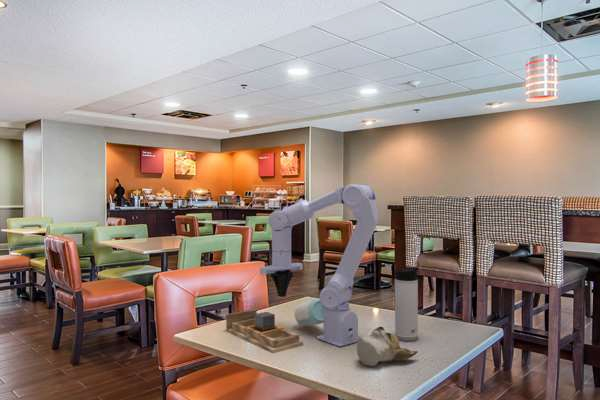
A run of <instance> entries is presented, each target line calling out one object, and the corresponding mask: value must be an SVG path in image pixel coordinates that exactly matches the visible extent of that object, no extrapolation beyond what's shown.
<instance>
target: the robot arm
mask: <svg viewBox="0 0 600 400" xmlns="http://www.w3.org/2000/svg"><path fill="white" fill-rule="evenodd" d="M377 201H378V198H377V194H376V193H375V192H374V190H373V188H372V187H371V186H369V185H367V184H356V183H350V184H347V185H346V186H340V187H339V188H335V189H334V190H331V191H330V192H327V193H326V194H323V195H322V196H319V197H318V198H315V199H313V200H311V201H308V200H306V199H303V200H302V199H297V200H296V201H295V203H294V204H291V205H288V206H287V205H286V206H283V207H282V210H278V209H276V210H275V209H274V210H273V212H271V213H269V216H268V225H269V228H271V253H272V255H271V261H272V263H271V265H267V266H262V267H259V275H263V276H265V275H268V274H269V275H270V277H271V279H272V281H273V282H274V284H275V288H276V292H277V296H278V297H280V298H281V297H282V298H283V297H286V296H287V291H288V287H289V285H290V283H291V280H292V278H293V276H294V272H293V271H298V270H299V271H301V270H303V263H302V262H293V263H292V229H293V226H295V225H298V224H301V223H303V222H305V221H308V220H310V219H312V218H313V217H314V215H315V213H316V212H318V211H322V210H324V209H325V208H328V207H331V206H334V205H337V204H339V205H340V204H341V205H344V204H345V205H346V207H347V208H348V209H349V210H350V211H351V212H352V214H353V216H354V217H355V220H356V224H355V227H354V229H353V231H352V233H351V236H350V238H349V240H348V242H347V244H346V245H347V246H346V248H345V250H344V252H343V254H342V256H341V259H340V262H339V264H338V267H337V268H336V271H335V273H334V274H333V275H332V276H331V277H330V279H329V281H328V283H327V285H326V286H324V288H322V289H321V291H320V292H319V293H320V294H319V299H320V301H321V303H322V305H323V306H324V323H323V334H322V335H321V334H320V335H317V337H316V338H317V339H319V340H321V341H323V342H326V343H330V344H332V345H334V346H337V347H343V346H348V345H350V344H353V343H357V342H358V339H359V319H358V316H357V313H355V312H354V311H352V310H351V308H350V303H349V301H350V300H351V299H352V296H353V287H354V286H353V285H354V284H355V281H354V278H355V275H356V273H357V271H358V268H359V266H360V264H361V261H362V259H363V258H364V257H363V256H364V254H365V253H366V250H367V247H368V246H369V243H370V241H371V239H372V237H373V234H374V232H375V230H376V228H377V226H378V223H379V216H378V215H379V214H378V206H377Z"/></svg>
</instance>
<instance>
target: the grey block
mask: <svg viewBox="0 0 600 400" xmlns="http://www.w3.org/2000/svg"><path fill="white" fill-rule="evenodd" d="M275 316H276V315H275V314H274V313H271V312H269V311H263V312H259V313H258V312H257V314H255V330H257V331H259V332H264V331H269V330H273V329H275V325H276V322H275V321H276V319H275V318H276V317H275Z"/></svg>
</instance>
